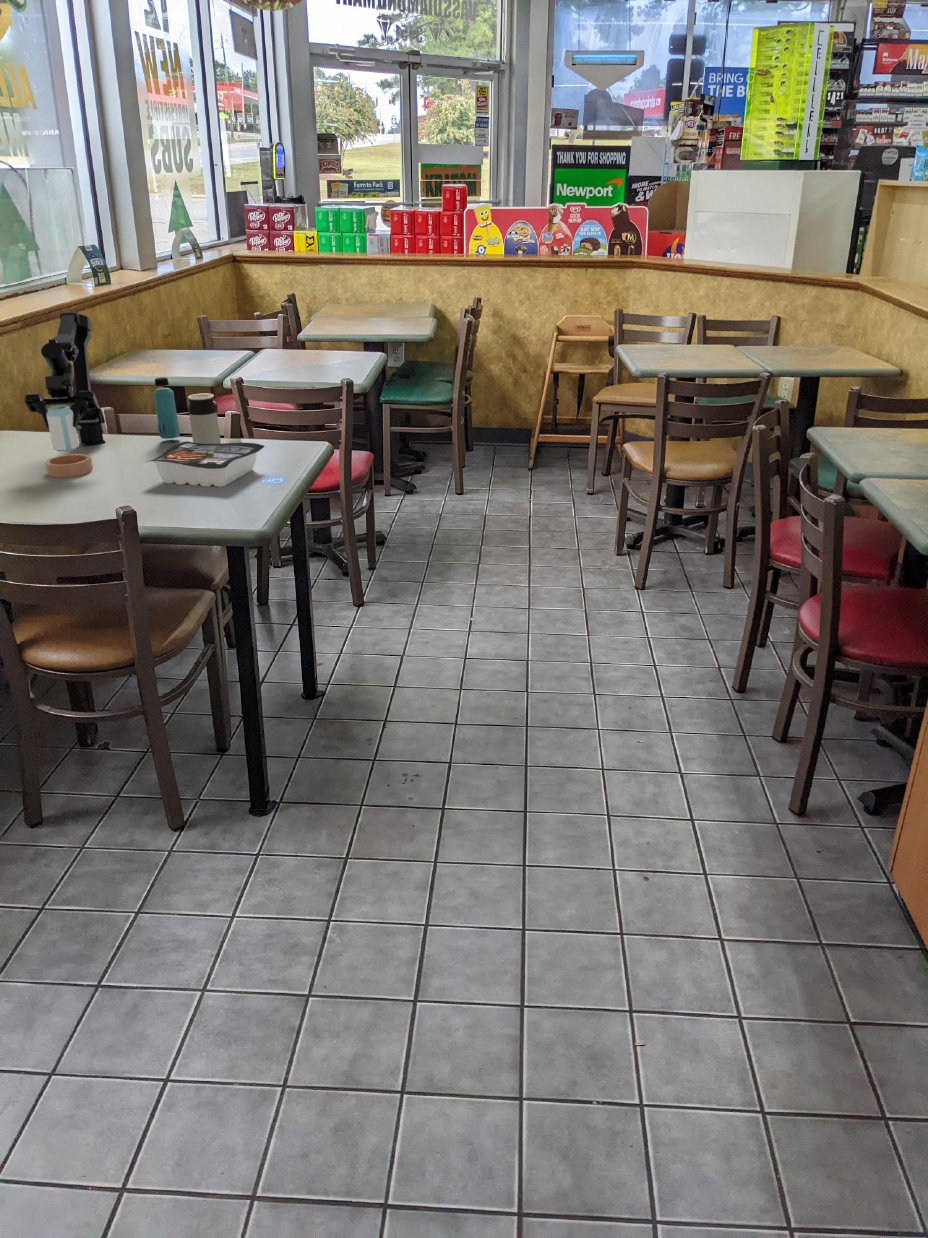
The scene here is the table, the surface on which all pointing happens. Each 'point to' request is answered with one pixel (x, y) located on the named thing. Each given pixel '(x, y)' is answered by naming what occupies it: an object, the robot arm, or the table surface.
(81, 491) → the table surface
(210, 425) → the travel mug
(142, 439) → the table surface
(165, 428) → the beverage bottle
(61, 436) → the can
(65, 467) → the bowl
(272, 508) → the table surface
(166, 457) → the food packaging
